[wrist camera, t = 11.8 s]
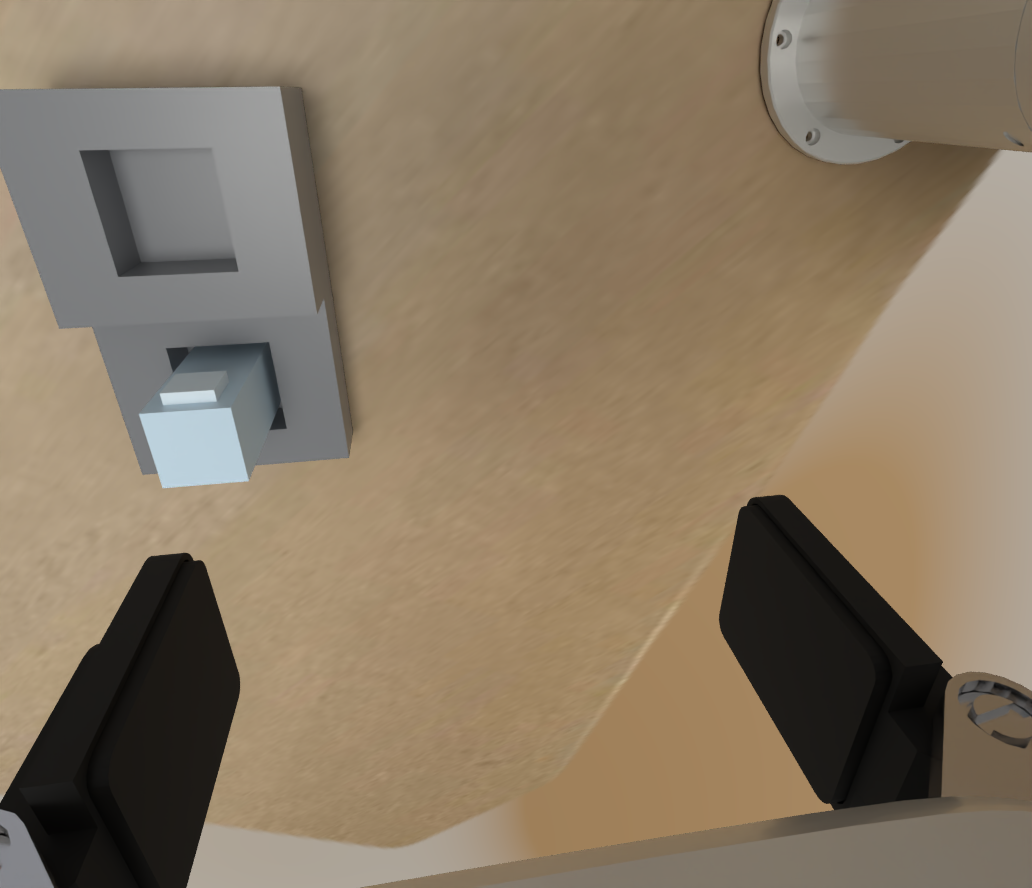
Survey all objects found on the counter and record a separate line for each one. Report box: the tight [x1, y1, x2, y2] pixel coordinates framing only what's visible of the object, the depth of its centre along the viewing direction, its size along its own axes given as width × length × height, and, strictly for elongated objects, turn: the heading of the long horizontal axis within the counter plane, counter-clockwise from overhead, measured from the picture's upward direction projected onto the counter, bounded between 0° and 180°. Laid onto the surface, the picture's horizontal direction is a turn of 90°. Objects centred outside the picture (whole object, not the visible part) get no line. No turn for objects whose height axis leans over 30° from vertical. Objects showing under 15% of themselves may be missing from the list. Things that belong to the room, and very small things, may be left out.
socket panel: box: [0, 87, 353, 475], centre depth 34 cm, size 12×20×6 cm, turn 0°
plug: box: [139, 342, 281, 488], centre depth 35 cm, size 4×5×10 cm
